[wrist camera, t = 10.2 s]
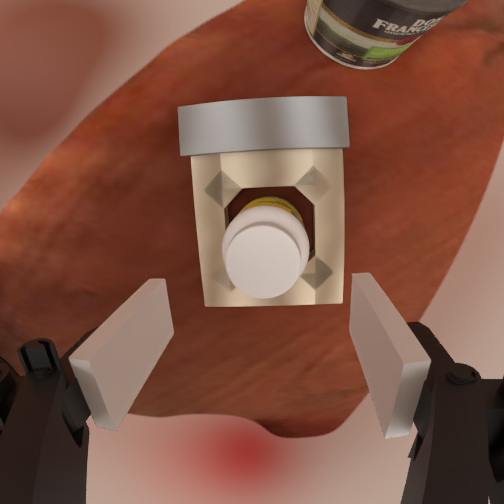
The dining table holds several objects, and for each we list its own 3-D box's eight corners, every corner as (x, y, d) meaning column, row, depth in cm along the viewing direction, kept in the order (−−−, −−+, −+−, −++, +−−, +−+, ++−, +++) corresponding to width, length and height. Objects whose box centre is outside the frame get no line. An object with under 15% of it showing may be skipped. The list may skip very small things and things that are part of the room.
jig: (209, 298, 33) (197, 320, 28) (194, 115, 28) (177, 107, 23) (339, 294, 31) (348, 317, 27) (335, 107, 27) (346, 96, 22)
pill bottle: (316, 220, 30) (335, 252, 19) (277, 271, 31) (275, 327, 21) (260, 181, 29) (249, 192, 19) (224, 235, 31) (194, 274, 20)
